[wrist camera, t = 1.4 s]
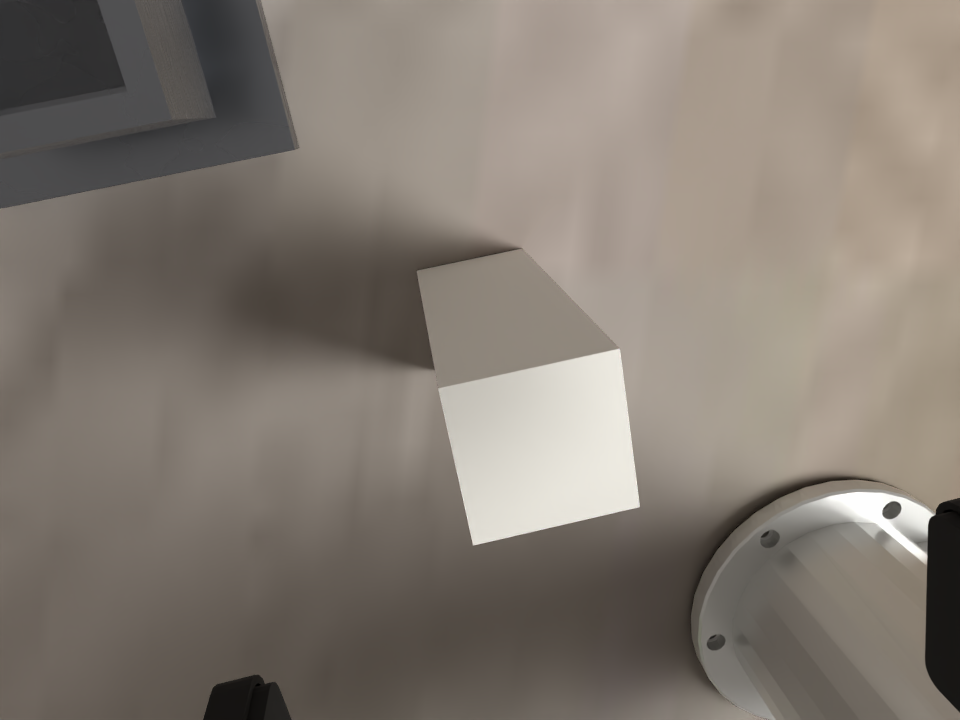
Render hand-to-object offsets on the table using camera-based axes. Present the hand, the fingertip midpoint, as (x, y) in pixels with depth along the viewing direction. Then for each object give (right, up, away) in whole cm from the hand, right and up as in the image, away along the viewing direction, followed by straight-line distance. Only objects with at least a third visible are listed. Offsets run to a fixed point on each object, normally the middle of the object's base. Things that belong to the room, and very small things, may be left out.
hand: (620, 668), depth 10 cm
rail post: (-2, +6, +17) cm, 19 cm away
